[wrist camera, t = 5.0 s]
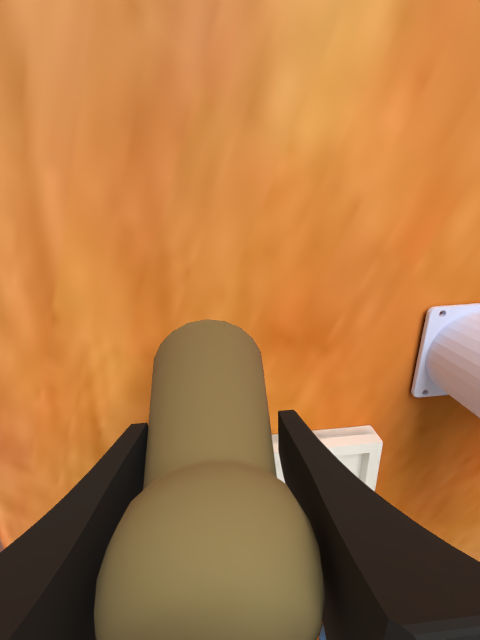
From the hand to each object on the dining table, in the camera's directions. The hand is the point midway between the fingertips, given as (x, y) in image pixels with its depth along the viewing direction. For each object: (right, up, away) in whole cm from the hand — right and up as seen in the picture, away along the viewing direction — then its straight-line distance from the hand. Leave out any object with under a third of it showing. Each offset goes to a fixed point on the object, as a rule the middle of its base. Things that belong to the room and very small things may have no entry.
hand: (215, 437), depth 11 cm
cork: (-1, +2, +5) cm, 5 cm away
